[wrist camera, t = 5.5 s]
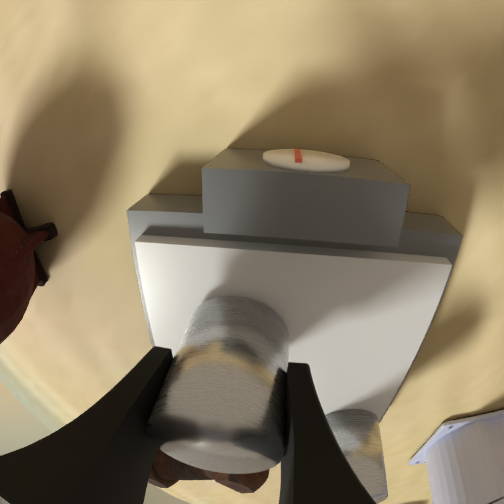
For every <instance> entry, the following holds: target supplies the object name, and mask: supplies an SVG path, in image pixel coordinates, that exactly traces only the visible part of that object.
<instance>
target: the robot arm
mask: <svg viewBox="0 0 504 504" xmlns="http://www.w3.org/2000/svg"><path fill="white" fill-rule="evenodd" d="M172 360H173V355H172V350H171V349H170V348H164V347H158V346H154V347H153V348H152V349H151V350H150V351H149V352H148V353H147V354H146V355H145V356H144V357H143V358H142V359H141V360H140V361H139V363H138V364H137V365H136V366H135V367H134V368H133V369H132V370H131V371H130V372H129V373H128V374H127V375H126V376H125V377H124V378H123V379H122V380H121V381H120V382H119V383H118V384H117V385H115V386H114V387H113V388H112V389H111V390H110V391H109V392H108V393H107V394H106V395H104V396H103V397H102V398H101V399H100V400H99V401H98V402H96V403H95V404H94V405H93V406H92V407H90V408H89V409H88V410H87V411H85V412H84V413H83V414H81V415H80V416H79V417H77V418H76V419H74V420H73V421H71V422H70V423H68V424H67V425H65V426H64V427H62V428H61V429H59V430H57V431H56V432H54V433H52V434H50V435H49V436H47V437H45V438H43V439H41V440H39V441H37V442H35V443H33V444H31V445H28V446H26V447H24V448H21V449H18V450H16V451H13V452H10V453H8V454H5V455H2V456H0V504H7V503H6V501H7V502H9V503H10V504H143V502H144V497H145V492H146V487H147V483H148V479H149V475H150V471H151V467H152V464H153V461H154V458H155V456H156V453H157V450H158V447H157V446H156V445H155V444H154V443H153V442H152V441H151V440H150V438H149V437H148V435H147V432H146V426H147V423H148V420H149V418H150V415H151V413H152V410H153V408H154V405H155V403H156V400H157V397H158V395H159V392H160V390H161V387H162V385H163V382H164V380H165V377H166V375H167V373H168V370H169V368H170V365H171V363H172ZM285 397H286V421H285V437H284V452H283V458H282V460H281V489H280V499H279V504H376V502H375V501H374V500H373V498H372V497H371V496H370V494H369V493H368V492H367V490H366V489H365V488H364V486H363V485H362V483H361V482H360V480H359V479H358V477H357V476H356V474H355V473H354V471H353V470H352V468H351V466H350V465H349V463H348V461H347V459H346V458H345V456H344V454H343V452H342V450H341V448H340V447H339V445H338V443H337V441H336V438H335V436H334V434H333V432H332V430H331V428H330V426H329V423H328V421H327V419H326V416H325V414H324V411H323V409H322V406H321V403H320V401H319V398H318V395H317V392H316V389H315V386H314V382H313V379H312V375H311V370H310V366H309V365H308V364H307V363H295V362H288V367H287V377H286V396H285ZM422 463H426V467H427V472H428V477H429V483H430V489H431V495H432V502H433V504H504V410H500V411H496V412H492V413H487V414H483V415H478V416H474V417H469V418H463V419H458V420H452V421H447V422H444V423H443V424H442V425H441V426H440V427H439V428H438V429H437V431H436V432H435V433H434V434H433V435H432V436H431V438H430V439H429V440H428V441H427V442H426V443H425V444H424V445H423V447H422V448H421V449H420V450H419V451H418V452H417V453H416V454H415V455H414V456H413V457H412V458H411V459H410V460H409V465H416V464H422ZM1 497H2V498H1ZM5 500H6V501H5Z"/></svg>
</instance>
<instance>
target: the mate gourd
mask: <svg viewBox="0 0 504 504" xmlns="http://www.w3.org/2000/svg"><path fill="white" fill-rule="evenodd" d="M0 196H1V198H0V344H1V343H2V342H3V341H4V340H5V339H6V338H7V337H8V336H9V335H10V334H11V333H12V332H13V331H14V330H15V328H16V327H17V325H18V324H19V323H20V321H21V320H22V318H23V316H24V313H25V311H26V309H27V307H28V304H29V301H30V299H31V297H32V295H33V293H34V291H35V289H36V288H37V286H44V285H45V283H46V282H47V281H48V279H47V276H46V274H45V272H44V270H43V267H42V265H41V263H40V261H39V259H38V256H37V254H36V252H35V249H36V248H37V247H38V246H39V245H40V244H41V243H42V242H43V241H47V240H50V239H52V238H54V237H56V236H57V235H58V232H57V229H56V227H55V225H54V223H48V224H44V225H41V226H38V227H35V228H31V229H27V228H26V227H25V225H24V222H23V220H22V217H21V215H20V212H19V209H18V207H17V204H16V201H15V198H14V195H13V193H12V190H7V191H4V192H2V193H1V194H0Z"/></svg>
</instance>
